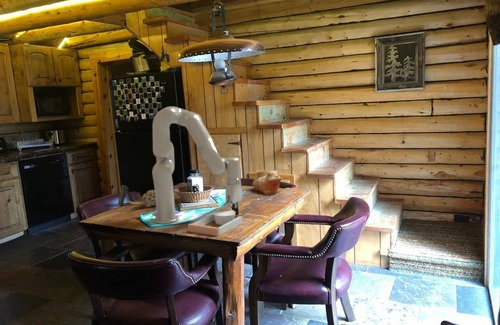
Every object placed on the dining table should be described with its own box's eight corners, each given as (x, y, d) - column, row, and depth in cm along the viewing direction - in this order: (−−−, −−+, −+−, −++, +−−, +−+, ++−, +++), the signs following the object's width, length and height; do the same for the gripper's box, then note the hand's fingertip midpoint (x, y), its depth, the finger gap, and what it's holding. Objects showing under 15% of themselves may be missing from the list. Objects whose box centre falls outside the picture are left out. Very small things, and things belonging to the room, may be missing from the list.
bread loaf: (269, 196, 253) (268, 173, 251) (249, 189, 276) (248, 168, 274) (287, 193, 260) (286, 170, 258) (266, 186, 283) (265, 165, 280)
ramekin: (230, 226, 196) (229, 216, 195) (210, 225, 200) (209, 214, 199) (239, 220, 206) (238, 210, 206) (219, 218, 210) (219, 208, 210)
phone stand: (120, 206, 244) (118, 187, 242) (117, 204, 249) (115, 186, 247) (134, 204, 249) (133, 185, 247) (132, 202, 254) (130, 183, 252)
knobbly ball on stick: (159, 202, 250) (157, 187, 248) (166, 205, 242) (165, 189, 241) (125, 209, 236) (123, 193, 235) (131, 212, 229) (130, 196, 227)
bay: (188, 231, 191) (187, 224, 191) (214, 218, 210) (214, 212, 209) (217, 236, 183) (217, 228, 182) (242, 222, 202) (241, 215, 201)
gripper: (235, 177, 217) (236, 210, 220) (219, 183, 204) (221, 218, 207) (246, 178, 214) (248, 211, 216) (232, 184, 201) (234, 219, 204)
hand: (235, 214), depth 212 cm, fingers closed
